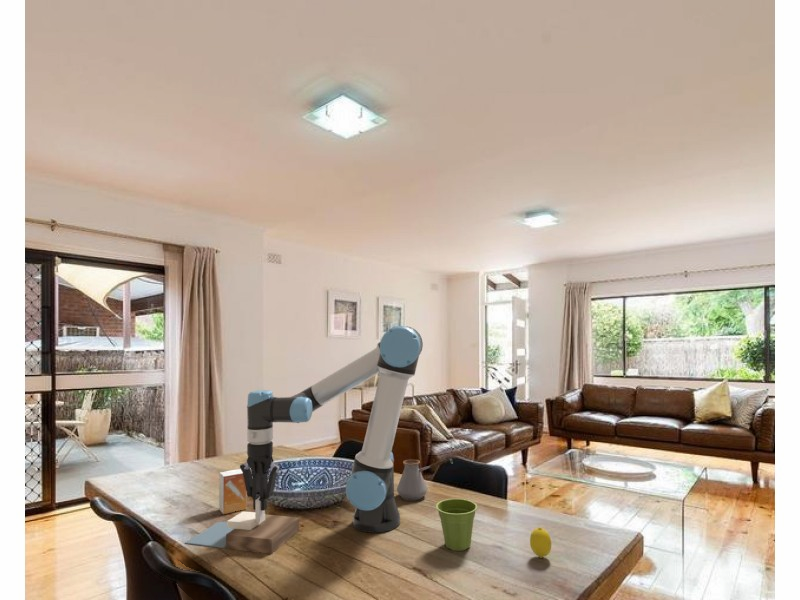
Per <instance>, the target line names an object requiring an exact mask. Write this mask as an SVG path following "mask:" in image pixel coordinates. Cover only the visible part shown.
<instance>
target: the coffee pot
mask: <svg viewBox="0 0 800 600" xmlns="http://www.w3.org/2000/svg"><path fill="white" fill-rule="evenodd" d="M447 462H450V463H451V464H453V463H454V462H453V459H452V458H451V457H448V458H444V459H443V460H439V461H437V462H434V463H432V464H430V465H428V466H424V467H421V468H420V466H419V465H420V464H421V461H420V460H419V459H405V460H403V462H402V463H403V465H404V469H403V471H402V474H401V477H400V479H399V482H398V485H397V486H396V491H397V494H398V495H399V496H400V497H401V498H402V499H403V500H406V501H417V500H422V498H423V497H424V496H425V495H426V494H427V492H428V486H427V484H426V482H425V478H424V476H423V475H422V472H423V471H426V470H428V469H431V468H433V467H434V468H435V467H437V466H439V465H442V464H444V463H447Z"/></svg>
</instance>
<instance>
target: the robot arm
mask: <svg viewBox="0 0 800 600" xmlns="http://www.w3.org/2000/svg"><path fill="white" fill-rule="evenodd" d="M423 346H424V345H423V339H422V336H421V334H420V333H419V332H418V330H416V329H415V328H413V327H411V326H407V325H396V326H393V327H391V328H389V329H388V330H387V331H386V332H385V333H384V334H383V336H382V337H381V339H380V341H379V342H378V343H377V344H376V347H375V348H374V349H372V350H371V351H368V352H366V353H365V354H364V355H362V356H360V357H358V358H356V359H354V360H353V361H352V362H350V363H348V364H347V365H345V366H343V367H341V368H340V369H338V370H336V371H335V372H333V373H332V374H330V375H328V376H325V378H322V379H321V380H319V381H318V382H316V383H314V384H312V385H311V386H309V387H307V388H306V389H304V390H302V391H301V392H299V393H297V394H294V395H292V396H288V397H287V396H286V397H282V396H281V397H279V396H278V397H276V396H274V395H273V393H274V392H273V391H272V390H270V389H269V390H266V389H260V390H259V389H258V390H252V391H250V392H249V393H248V395H247V405H246V408H247V411H246V413H247V429H246V430H247V431H246V432H247V433H246V435H247V439H246V441H247V442H248V443H247V446H246V448H247V449H246V451H247V452H246V453H247V458H246V461H245V462H243V463H242V464H240V465H239V469H241V470H242V472H243V477H244V482H245V487H246V497H248V498H252V500H253V501H252V502H253V504H252V507H253V510H254V512H255V522H258V523H260V522H261V521H263V520H264V519H265V514H266V511H265V510H267V508H268V506H267V505H268V499H270V497H272V496H273V495H274V491H275V486H276V483H277V476H278V472H279V471H280V469H281V465H280V464H277V463H275V461H274V458H273V454H274V453H273V452H274V449H273V447H274V446H273V445H274V442H273V439H274V435H273V434H274V429H273V428H274V425H273V423H294V424H295V423H297V424H300V423H308V422H310V420H311V418H312V415H313V412H315V411H316V410H318V409H320V408H321V407H322V406H324V405H326V404H328V403H329V402H331V401H333V400H335V399H337V398H338V397H340V396H342V395H343V394H346V393H347V392H349V391H350V390H351V389H354V388H356V387H357V386H360V385H361V384H362V383H364V382H366V381H368V380H369V379H371V378H374V376H375V377H376V375H378V374H379V377H378V380H377V381H378V382H377V385H376V389H375V390H376V391H375V395H374V399H373V401H372V405H371V406H372V407H371V410H370V411H371V412H370V416H369V418H368V424H367V428H366V433H365V436H364V441H363V445H362V448H361V450H360V451H359V452H358V453H356V454H355V457H354V461H353V464H352V468H351V472H350V476H349V477H348V479H347V481H346V484H345V494H346V498H347V500H348V501H349V502H350V504H351V505H352V506H353V507H354V508H355V511H354V514H353V517H352V519H353V520H352V521H353V522H352V523H353V524H352V526H353V527H354V528H355V529H356V530H358V531H361V532H366V533H384V532H389V531H392V530H393V529H396V528H397V527H398V526H399V525H400V524H401V516H400V515H401V514H400V511H399V509H398V505H397V502H396V499H395V482H394V481H395V478H394V477H395V474H394V472H395V471H394V462H395V459H394V454H393V452H392V450H393V446H394V442H395V438H396V433H397V429H398V424H399V419H400V416H401V411H402V408H403V404H404V399H405V394H406V391H407V386H408V381H409V379H411V378H413V377H414V376H415V375H416V370H417V366H418V361H419V358H420V355H421V354H422V350H423Z"/></svg>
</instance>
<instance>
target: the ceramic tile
mask: <svg viewBox="0 0 800 600" xmlns="http://www.w3.org/2000/svg"><path fill="white" fill-rule="evenodd" d="M264 520H265V519H264ZM264 520H263V521H264ZM263 521H261V522H263ZM226 522H227V528H232V529H244V530H251V529H253V528H254V527H256V526H257V525H258V524H260V523H261V522H260V523H258V522H255V511H245V510H242V511H241V512H240V513H238V514H236V515H234V516H233V517H232V518H230V519H228V520H227V521H226Z"/></svg>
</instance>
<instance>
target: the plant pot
mask: <svg viewBox="0 0 800 600" xmlns="http://www.w3.org/2000/svg"><path fill="white" fill-rule="evenodd" d="M435 508H436V510H437V511H438V516H439V518H440V523H441V524H440V525H441V528H442V534H443V539H444V544H445V547H446V548H447V549H450V550H452V551H453V552H454V551H455V552H458V551H459V552H462V551H465V550H467V549H469V548H470V547H471V543H472V538H473V537H472V535H473V528H474V518H475V516H476V511H477V509H478V505H477V503H476V502H474V501H472V500H469V499H464V498H447V499H443V500H441V501H438V502H437V503H436V504H435Z"/></svg>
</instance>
